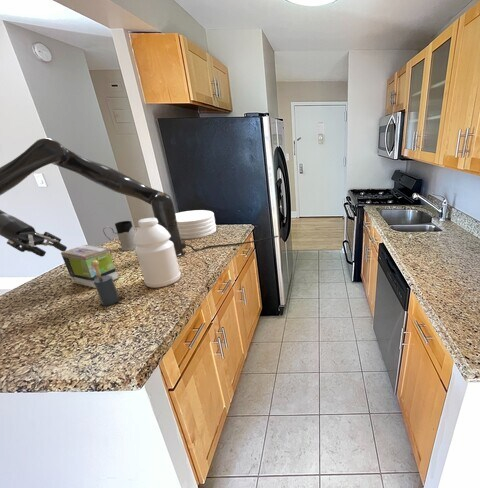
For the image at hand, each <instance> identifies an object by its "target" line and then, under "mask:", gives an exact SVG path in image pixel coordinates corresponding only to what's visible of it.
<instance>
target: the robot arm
mask: <svg viewBox="0 0 480 488" xmlns="http://www.w3.org/2000/svg"><path fill="white" fill-rule="evenodd" d="M50 164H51V165H53V166H56V167H60V168H63V169H66V170H68V171H70V172H74V173H75V174H78V175H80V176H82V177H83V178H85V179H87V180H89V181H91V182H93V183H95V184H97V185H99V186H101V187H103V188H106V189H108V190H110V191H112V192H115V193H117V194H121V195H125V196H129V197H132V198H135V199H138V200H141V201H143V202H145V203H147V204H149V205H150V206H151V209H152V214H153V218H157V220H158V223H157V224H159V225H161V226H163V227H164V228H165V229H166V230H167V231H168V232H169V234H170V235H171V237H170V238H169V240H170V241H172V242H173V244H174V248H175V253H176V257H180V256H182V255H183V256H184V254H185V249H186V248H187V247H189V248H190V249H192V251H195V252H197V251H202V250H206V249H208V248H216V247H227V246H237V245H245V244H251V243H252V244H253V243H258V242H261V241H267V240H271V239H276V238H279V235H274V236H271V237H270V236H269V237H266V238H260V239H256V240H250V241H243V242H235V243H226V244H214V245H213V244H212V245H207V246H204V247H202V248H198V249H196V248H194V246H193V245H190V244H187V243H186V241H185V240H183V239H181V236H180V233H179V229H178V224H177V220H176V210H175V206H174V202H173V199H172V197H171V196H170V195H169V194H168V193H166V192H163V191H160V190H158V189H155V188H152V187H149V186H148V185H145V184H143V183H141V182H139V181H138V180H136V179H134V178H132V177H131V176H129V175H127V174H125V173H123V172H121V171H119V170H117V169H115V168H112V167H110V166H108V165H105V164H102V163H99V162H96V161H94V160H90V159H87V158H85V157H83V156H81V155H79V154H77V153H76V152H74V151H72V150H70V149H69V148H67V147H65V146H64V145H62V144H61V143H60V142H59V141H57V140H55V139H52V138H48V137H47V138H46V137H45V138H39V139H37V140H36V141H35V142H34V143H33V144H31V145H30V146H29V147H28V148H27V149H26V150H25V151H23V152H22V153H20V154H19V155H18V156H16V157H15V158H14V159H12V160H10V161H9V162H8V163H5V164H4V165H1V166H0V196H2V195H3V194H5V193H8V192H9V191H10V190H12V189H13V188H15V187H16V186H18V185H19V184H20V183H22V182H23V181H24V180H26V179H27V178H28V177H29V176H30V175H32V174H33V173H34V172H36V171H37V170H40V169H41V168H43V167H45V166H48V165H50ZM0 237H4V239H7V241H6V244H7V245H9V246H11V247H12V248H14V249H15V250H17V251H19V252H21V253H25V252H29V253H33V254H35V256H39V257H40V258H42V257H45V255H46V254H47V252H46V250H44V249H42V248H40V247H38V246H45V247H46V246H49V247H53V248H55V249H57V250H59V251H61V252H64V251H67V248H68V247H67V246H66V245H64V244H62V243H61V241H62V238H60V237H58V236H56V235H54V234H52V233H51V232H48V231H44V233H39V232H37V231H36V229H35V227H33V226H32V225H30V224H28V223H27V222H24V221H23V220H21V219H20V218H17V217H16V216H13V215H11V214H9V213H7V212H5V211H3V210H2V209H0Z"/></svg>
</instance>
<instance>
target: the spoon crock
mask: <svg viewBox="0 0 480 488" xmlns="http://www.w3.org/2000/svg"><path fill="white" fill-rule="evenodd" d="M98 264H99V262H98V261H97V260H93V261H92V262H91V265H92V266H94V268H95V270H96V273H97V276H98V278H96V279H95V280H94V281H93V282H94V284H95V287H96V288H95V289H96V292H97V294H98V297H99V300H100V302H101V305H102V306H104V307H105V306H111V305H114V304H116V303H118V302H120V300H121V299H120V295H119V293H118V290H117V287H116V284H115V280H113V278H112V276H110V275H107V276H101V273H100V271H99V268H98Z"/></svg>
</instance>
